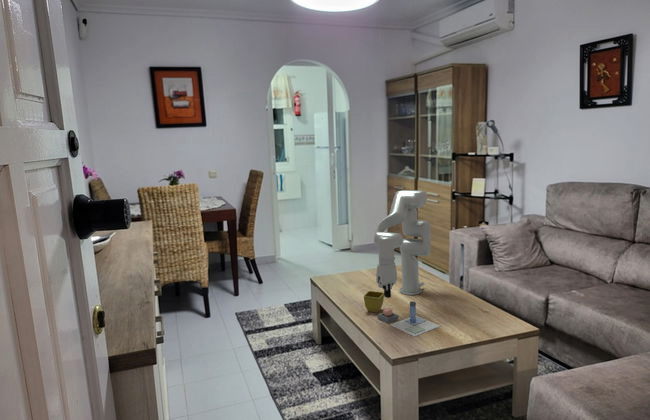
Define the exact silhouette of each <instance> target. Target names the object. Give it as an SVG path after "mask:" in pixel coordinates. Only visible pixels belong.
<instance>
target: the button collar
mask: <svg viewBox="0 0 650 420" xmlns="http://www.w3.org/2000/svg"><path fill="white" fill-rule="evenodd" d="M377 316H378V317H377V319H378V320H380V321H382V322H384V323H386V324H390V323H394V322H395V321H399V314H396V312H393V315H392V316H384V312H380V313H379V314H377Z"/></svg>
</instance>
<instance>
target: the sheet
mask: <svg viewBox="0 0 650 420" xmlns="http://www.w3.org/2000/svg"><path fill="white" fill-rule="evenodd" d="M389 324H390V323H389ZM390 326H391V327H393V328H395V329H398V330H400V331H401V332H404V333H406V334H407V335H409V336H411V337H413V338H415V337H418V336H420V335H422V334H425V333H427V332H430V331H432V330H434V329H437V328H439V327H441V325H440V324H437V323H435V322H432V321H431V320H428V319H425V318H423V317H421V316H418V315H416V323H410V317H408V318H407V317H406V318H405V319H402V320H398V321H397V322H392V323H391V324H390Z"/></svg>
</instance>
